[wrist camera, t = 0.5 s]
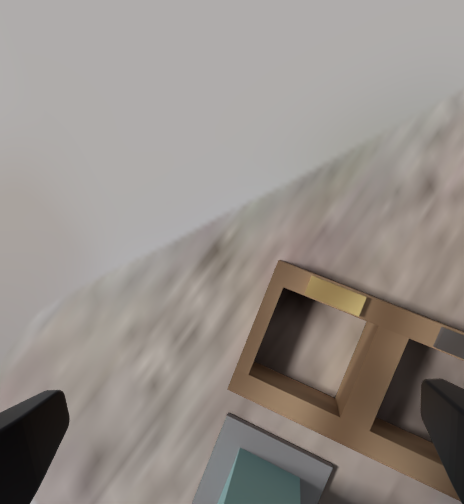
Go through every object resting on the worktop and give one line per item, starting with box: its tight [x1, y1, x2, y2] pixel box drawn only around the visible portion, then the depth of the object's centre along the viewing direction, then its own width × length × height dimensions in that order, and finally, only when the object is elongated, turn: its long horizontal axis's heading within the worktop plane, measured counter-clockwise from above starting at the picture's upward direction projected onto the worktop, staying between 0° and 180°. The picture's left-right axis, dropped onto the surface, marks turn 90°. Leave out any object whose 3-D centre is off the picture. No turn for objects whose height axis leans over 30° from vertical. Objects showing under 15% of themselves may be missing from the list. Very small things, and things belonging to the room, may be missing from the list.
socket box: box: [228, 260, 464, 501], centre depth 19 cm, size 14×8×3 cm, turn 69°
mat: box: [192, 413, 333, 504], centre depth 21 cm, size 7×7×1 cm
